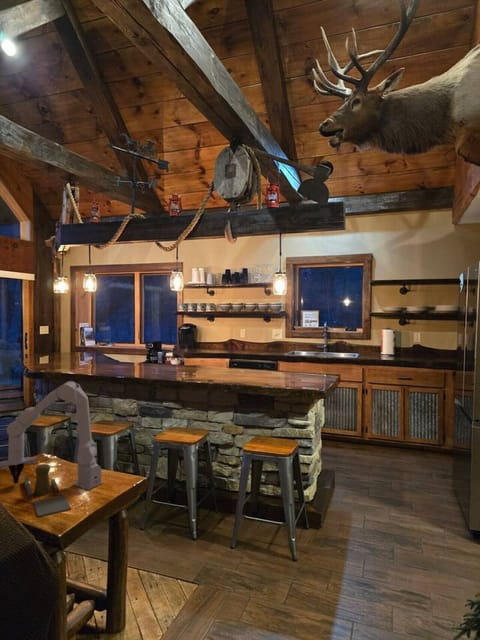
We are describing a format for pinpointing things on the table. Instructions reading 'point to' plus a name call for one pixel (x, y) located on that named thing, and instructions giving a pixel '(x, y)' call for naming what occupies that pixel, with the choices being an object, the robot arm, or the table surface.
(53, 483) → the rail
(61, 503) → the mat
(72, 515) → the table surface
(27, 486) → the bar
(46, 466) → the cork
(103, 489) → the table surface
